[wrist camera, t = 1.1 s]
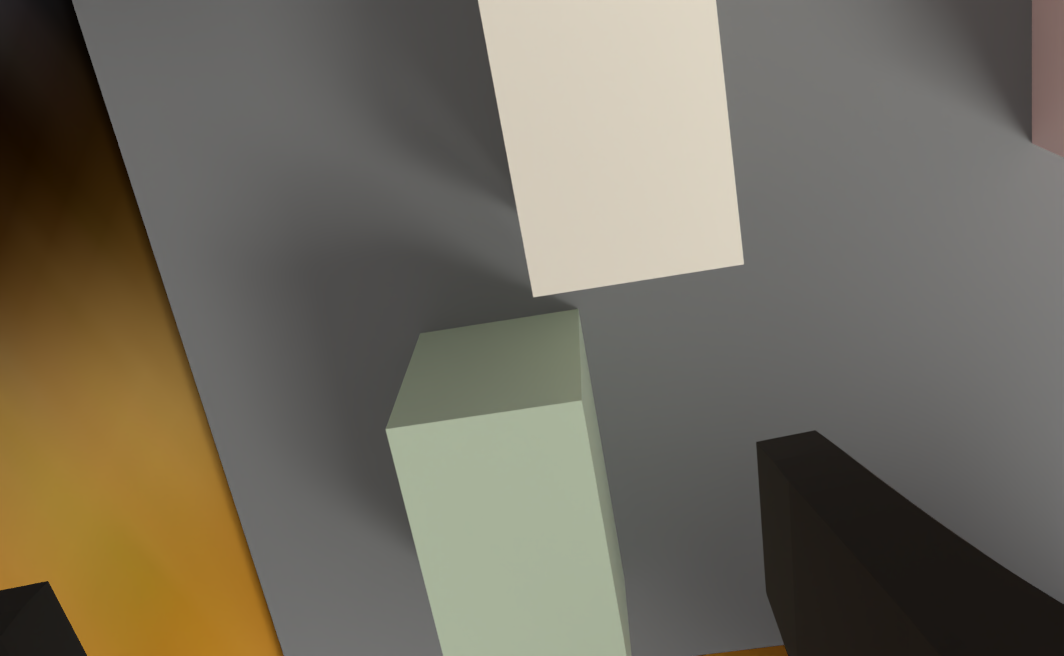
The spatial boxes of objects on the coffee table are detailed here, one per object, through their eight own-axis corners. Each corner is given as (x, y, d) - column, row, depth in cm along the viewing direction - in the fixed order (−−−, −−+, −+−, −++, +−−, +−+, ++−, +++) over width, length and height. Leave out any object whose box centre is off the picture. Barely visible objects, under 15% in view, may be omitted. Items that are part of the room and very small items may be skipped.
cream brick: (706, 196, 21) (744, 264, 17) (539, 223, 21) (533, 297, 17) (663, -176, 18) (693, -210, 14) (474, -139, 19) (447, -161, 14)
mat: (1184, 584, 24) (1194, 594, 24) (303, 693, 26) (299, 703, 26) (1248, -388, 17) (1262, -396, 17) (36, -139, 19) (26, -140, 19)
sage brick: (624, 578, 24) (637, 717, 20) (481, 597, 25) (464, 737, 20) (578, 308, 22) (582, 400, 17) (420, 333, 22) (385, 429, 18)
